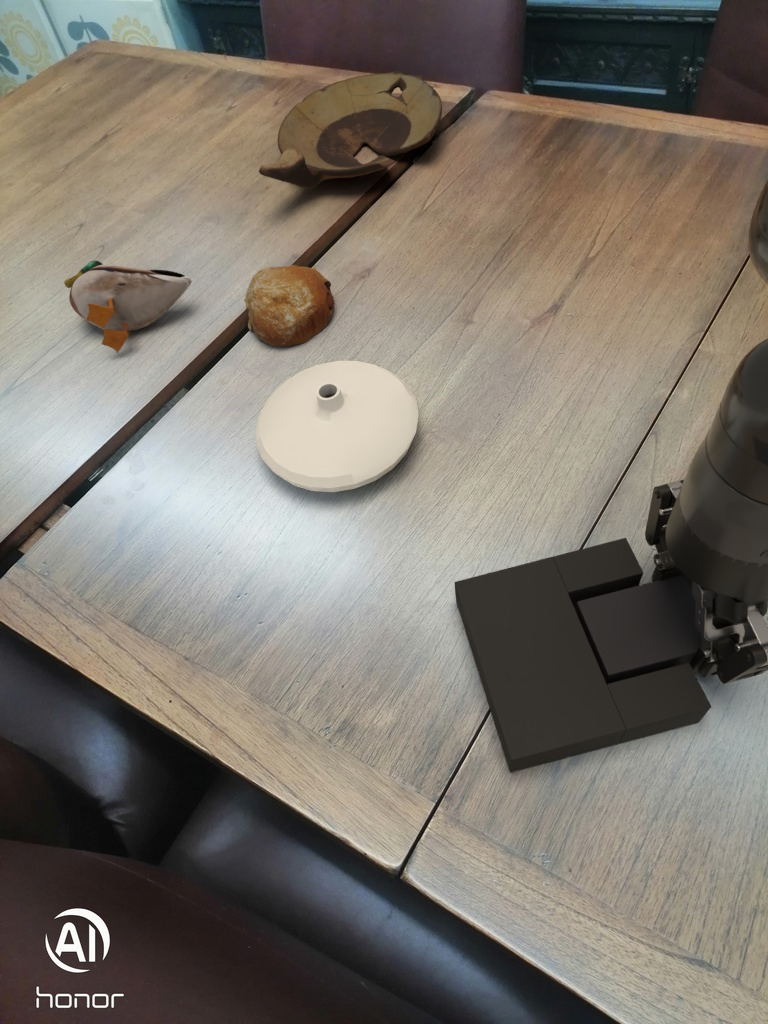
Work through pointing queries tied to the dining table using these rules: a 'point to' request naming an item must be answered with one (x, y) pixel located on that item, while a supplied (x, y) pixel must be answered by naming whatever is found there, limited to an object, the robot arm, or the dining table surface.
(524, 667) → the socket pad
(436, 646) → the dining table surface
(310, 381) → the pot lid
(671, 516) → the robot arm
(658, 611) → the pad
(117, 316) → the decorative duck model
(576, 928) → the dining table surface
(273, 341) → the bread roll
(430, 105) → the oil lamp
